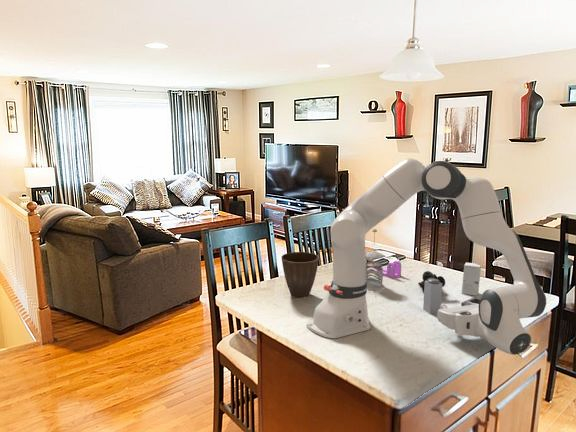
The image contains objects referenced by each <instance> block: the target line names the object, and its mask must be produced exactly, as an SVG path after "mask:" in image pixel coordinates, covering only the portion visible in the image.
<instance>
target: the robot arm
mask: <svg viewBox="0 0 576 432" xmlns="http://www.w3.org/2000/svg"><path fill="white" fill-rule="evenodd" d="M421 191H422V192H423V191H424V192H426V193H427V194H429V195H430V196H431V197H432V198H434V199H438V200H443V201H446V200H447V201H448V200H452V201H454V202H455V203H456V205H457V207H458V211H459V215H460V219H461V223H462V225H461V226H462V228H463V232H464V233H465V236H466V238H468V240H470V241H471V242H473V244H476V245H478V246H480V247H485V248H489V249H493V250H495V251H498V252H499V253H501V254H502V256H503V257H504V258H505V260H506V263H507V265H508V268H509V270H510V273H511V275H512V278H513V284H510V285H505V286H499V287H494V288H490V289H486V290H484V291H483V292H482V294H481V296H480V297H479V298H480V301H479V304H476V303H471V302H469V301H468V302H465V306H461V305H460V306H454V307H453V306H451V307H448V306H447V305H446V304H441V305H440V309H439V310H438V313H437V321H438V322H439V323H441V324H442V325H443V326H445V327H447V328H448V329H450V330H453V331H454V333H455V334H456V335H458V336H471V337H476V338H478V337H479V338H481V339H483V340H484V341H487V342H488V344H490V345H491V346H493V347H494V348H496V349H498V350H499V351H501V352H504V353H506V354H509V355H512V356H513V355H514V356H515V355H520V354H522V353H523V352H525V351H527V349H528V348H529V347H530V345H531V343H532V336H531V334H530V333H529V332H528V331H527V330H526V329H525V328H524V327H523V324H522V322H521V319H528V318H537V317H539V316H541V315H542V314H543V313H544V311H545V309H546V307H547V296H546V294H545V291H544V290H543V288H542V286H541V285H540V283H539V281H538V280H537V277H536V274H535V272H534V270H533V267H532V265H531V262H530V260H529V258H528V255H527V252H526V251H525V248H524V245H523V243H522V240H521V239H520V237H519V235H518V234H517V232H516V231H515V230H514V229H511V228H510V226H509V225H508V224H507V222H506V220H505V218H504V215H503V213H502V208H501V205H500V202H499V201H500V200H499V198H498V196H497V194H496V191H495V189H494V187H493V185H492V183H491V182H490V181H489V180H488V179H486V178H482V177H481V178H480V177H474V178H466V175H464V174H463V173H462V172H461V170H460V169H459V168H458V167H457V166H456V165H454V164H453V163H451V162H449V161H445V160H436V161H433V162H431V163H429V164H428V165H427V166H425V165H423V163H422V162H421V161H420V160H418V159H414V158H411V157H410V158H406V159H404V160H402V161H401V162H399V163H397V164H396V165H394V166H393V167H392V168H391V169H389V170H388V171H386V172H385V173H384V174H383V175H382V176H381V177H380V178H379V179H377V180H376V181H375V182H374V183H373V184H372V185H371V186H369V187H368V188H367V189H366V190H365V191H364V192H363V193H362V194H360V195H359V196H358V197H357V198H356V199H354V200H353V201H352V202H351V203H350V204H349V205H348V206H347V207H345V208H344V209H343V210H342V211H341V212H340V213H339V214H338V215H337V216H336V218H335V219H334V220H333V221H332V223H331V224H330V240H331V252H332V260H333V261H332V262H333V263H332V266H333V267H332V268H333V269H332V273H333V274H332V280H331V283H330V285H329V284H327V283H325V284H324V286H323V290H324V291H326V292H328V294H327V295H326V296H325V297H324V298H322V301H321V302H320V303H319V304H318V305H317V306H315V308H314V310H313V311H314V313H313V318H312V319H310V320H308V321H307V322H306V327H307V329H309V330H310V331H312V332H313V333H315V334H317V335H318V336H319V335H320V337H325V338H328V339H338V338H342V337H345V336H350V335H355V334H358V333H363V332H366V331H369V330H371V324H370V319H369V314H368V313H369V312H368V310H369V309H368V304H367V298H366V296H367V293H368V289H367V283H366V263H367V259H366V258H367V257H366V254H365V253H366V234H367V233H368V232H369V231H371V230H373V229H374V227H376V226H377V225H378V224H380V223H382V221H384V220H385V219H387V218H388V217H389V216H391V215H392V214H393V213H395V212H396V211H397V210H398V209H400V207H401V206H403V205H404V204H405V203H406V202H407V201H409V200H410V199H411V198H412V197H413V196H414V195H416V194H417V193H419V192H421Z"/></svg>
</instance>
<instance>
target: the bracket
mask: <svg viewBox="0 0 576 432" xmlns="http://www.w3.org/2000/svg"><path fill="white" fill-rule="evenodd" d="M373 269H374V268H373ZM374 270H375V271H378V270H376V269H374ZM401 276H402V262H401V261H399V260H394V261H393V262H392V261H391V262H389V263H387V265H386V268H383V277H387V278H390V279H393V280H394V279H396V278H399V277H401Z"/></svg>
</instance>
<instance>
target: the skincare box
mask: <svg viewBox="0 0 576 432" xmlns="http://www.w3.org/2000/svg"><path fill="white" fill-rule="evenodd" d="M481 270H482V264H479V263H474V262H465V264H464V266H463V277H462V285H461V286H462V288H461V294H464V295H465V294H466V295H470V296H474V297H476V296H478V294H479V289H480V280H481V279H480V278H481V272H482V271H481Z"/></svg>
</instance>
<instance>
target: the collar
mask: <svg viewBox="0 0 576 432" xmlns="http://www.w3.org/2000/svg"><path fill="white" fill-rule="evenodd" d="M480 298H481V297H476V296H474V297H472V298H469V299H466V300H465V301H462V302H461V303H460V306H465V302H468V301H469V302H471V303H476V304H479V301H480Z"/></svg>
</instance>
